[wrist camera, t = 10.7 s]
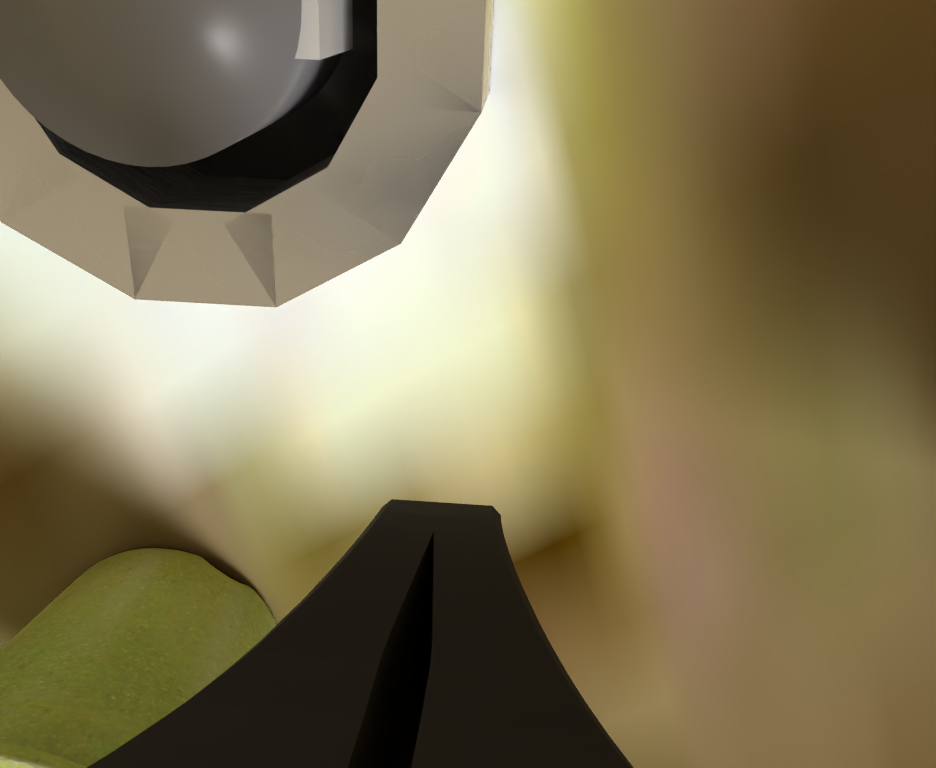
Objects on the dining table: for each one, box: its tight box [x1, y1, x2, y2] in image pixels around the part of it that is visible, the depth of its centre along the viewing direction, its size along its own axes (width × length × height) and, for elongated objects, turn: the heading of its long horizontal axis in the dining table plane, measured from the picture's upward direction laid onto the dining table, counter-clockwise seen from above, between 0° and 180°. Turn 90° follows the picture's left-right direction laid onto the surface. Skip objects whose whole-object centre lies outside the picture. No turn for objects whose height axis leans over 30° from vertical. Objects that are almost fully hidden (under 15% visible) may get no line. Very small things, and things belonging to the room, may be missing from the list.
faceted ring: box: [0, 0, 494, 307], centre depth 16 cm, size 10×10×4 cm
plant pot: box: [0, 548, 277, 768], centre depth 20 cm, size 9×9×9 cm
